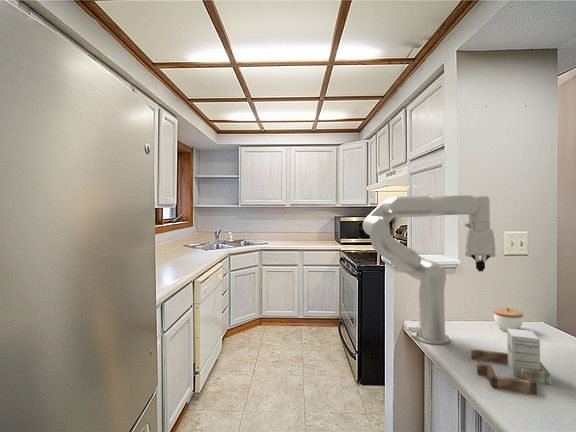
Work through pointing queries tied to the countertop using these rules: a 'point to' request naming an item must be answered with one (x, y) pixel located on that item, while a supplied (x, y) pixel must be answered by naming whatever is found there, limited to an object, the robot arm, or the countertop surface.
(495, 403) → the countertop surface
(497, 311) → the lidded jar
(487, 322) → the countertop surface
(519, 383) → the brown wooden bent piece
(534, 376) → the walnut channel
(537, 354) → the supplement box
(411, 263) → the robot arm
